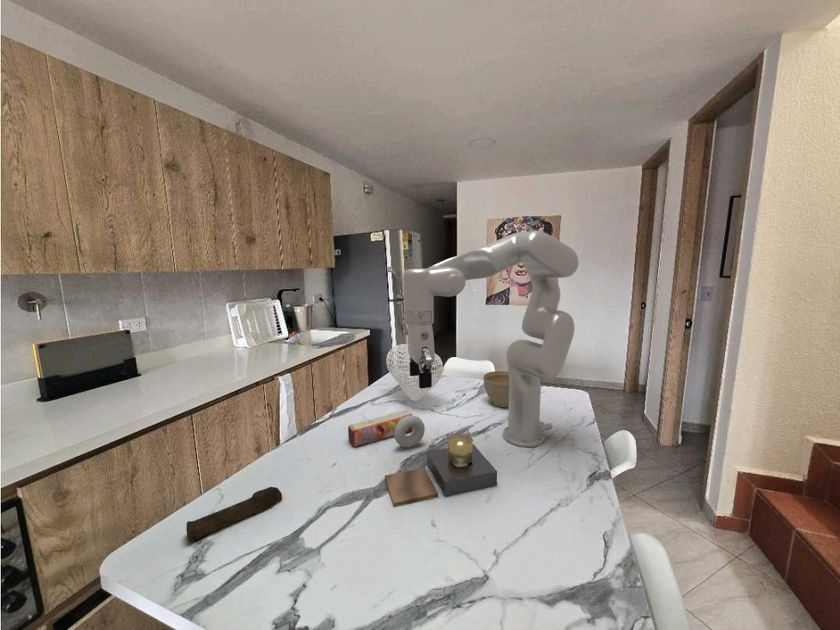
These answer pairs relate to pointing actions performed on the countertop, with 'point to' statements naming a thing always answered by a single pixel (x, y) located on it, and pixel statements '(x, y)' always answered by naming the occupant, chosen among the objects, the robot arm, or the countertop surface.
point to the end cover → (460, 450)
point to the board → (410, 487)
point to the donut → (403, 426)
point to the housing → (461, 473)
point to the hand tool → (234, 513)
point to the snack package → (375, 428)
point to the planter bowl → (497, 387)
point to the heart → (394, 371)
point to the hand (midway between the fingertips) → (420, 381)
